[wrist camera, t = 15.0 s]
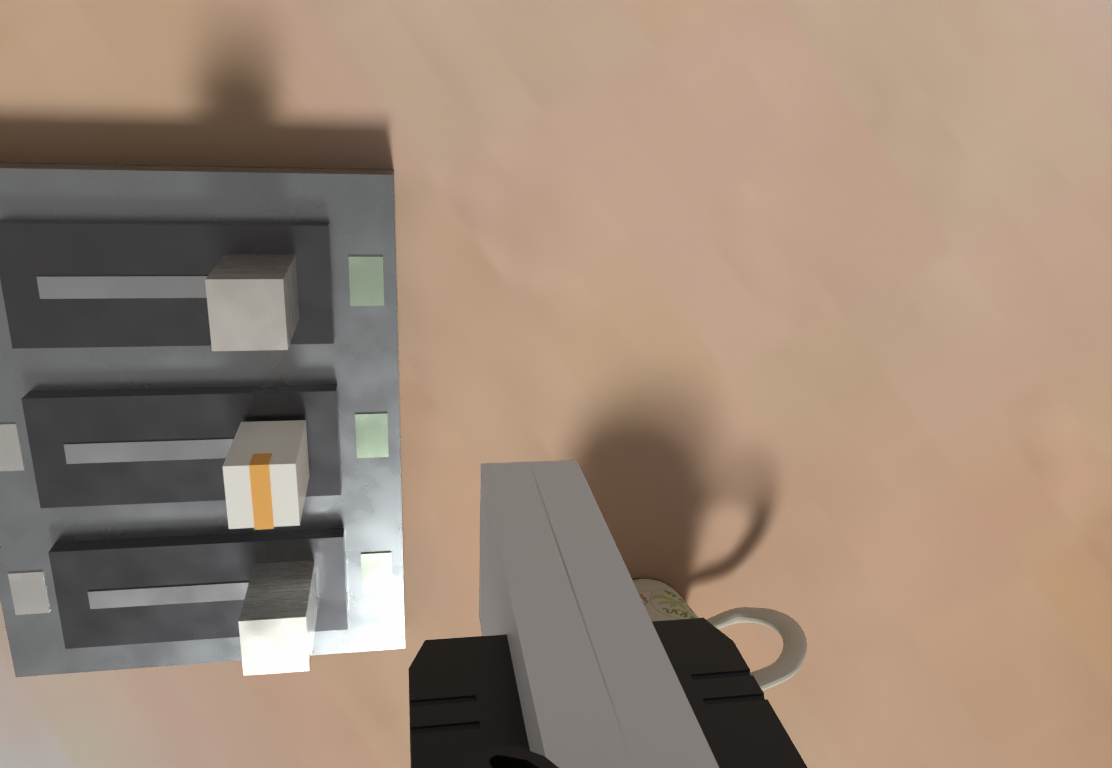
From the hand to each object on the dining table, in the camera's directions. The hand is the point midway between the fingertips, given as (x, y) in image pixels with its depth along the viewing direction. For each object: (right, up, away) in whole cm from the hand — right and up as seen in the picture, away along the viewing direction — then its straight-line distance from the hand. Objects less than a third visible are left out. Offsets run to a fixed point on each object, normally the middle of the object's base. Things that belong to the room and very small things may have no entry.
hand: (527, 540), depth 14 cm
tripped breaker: (-13, -1, +29) cm, 32 cm away
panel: (-18, 0, +32) cm, 36 cm away
